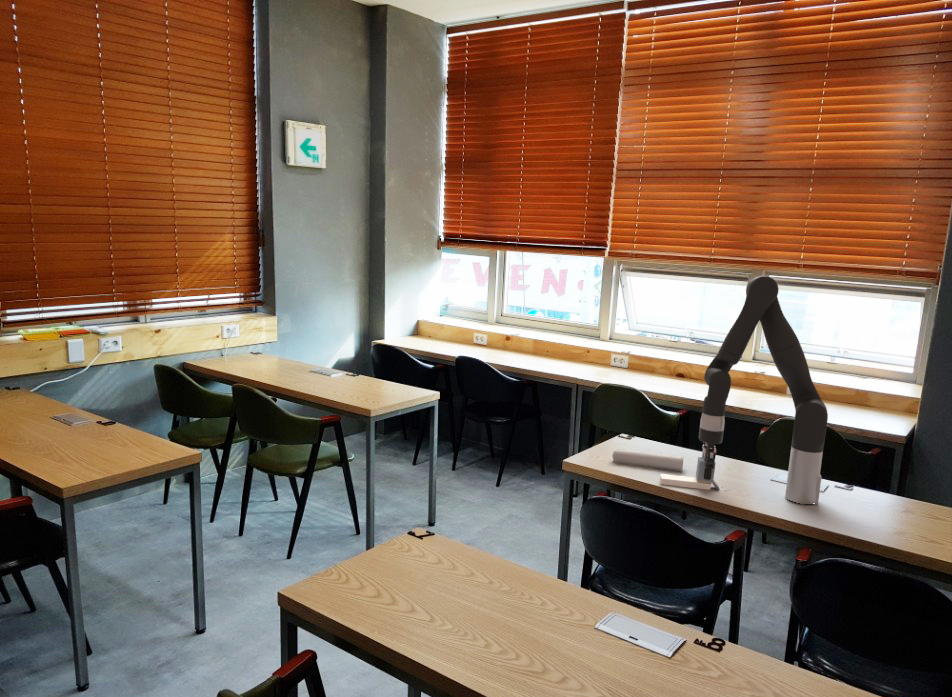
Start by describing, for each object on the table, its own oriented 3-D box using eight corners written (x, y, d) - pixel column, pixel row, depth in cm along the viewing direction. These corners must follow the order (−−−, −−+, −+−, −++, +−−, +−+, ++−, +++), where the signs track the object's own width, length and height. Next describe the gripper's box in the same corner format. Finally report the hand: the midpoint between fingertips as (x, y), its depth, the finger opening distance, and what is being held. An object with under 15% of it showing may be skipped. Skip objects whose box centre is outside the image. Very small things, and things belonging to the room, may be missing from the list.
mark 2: (716, 486, 240) (716, 487, 240) (718, 490, 236) (718, 492, 236) (726, 487, 239) (725, 489, 239) (727, 491, 235) (727, 493, 236)
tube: (611, 453, 258) (683, 462, 251) (613, 445, 263) (683, 453, 256) (611, 465, 261) (682, 474, 254) (612, 457, 265) (682, 466, 258)
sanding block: (711, 478, 240) (713, 458, 239) (712, 483, 235) (715, 463, 234) (695, 476, 241) (698, 456, 240) (697, 481, 236) (699, 461, 235)
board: (708, 484, 241) (709, 479, 240) (710, 489, 236) (710, 484, 236) (659, 479, 244) (660, 473, 244) (660, 484, 239) (661, 478, 239)
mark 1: (716, 486, 240) (718, 485, 240) (718, 490, 236) (719, 489, 236) (710, 479, 240) (712, 478, 240) (712, 483, 236) (713, 482, 236)
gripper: (726, 434, 228) (720, 485, 230) (720, 423, 242) (715, 471, 244) (702, 431, 229) (696, 482, 232) (697, 420, 243) (692, 468, 246)
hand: (706, 476), depth 238 cm, fingers closed on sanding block, 5 cm apart
